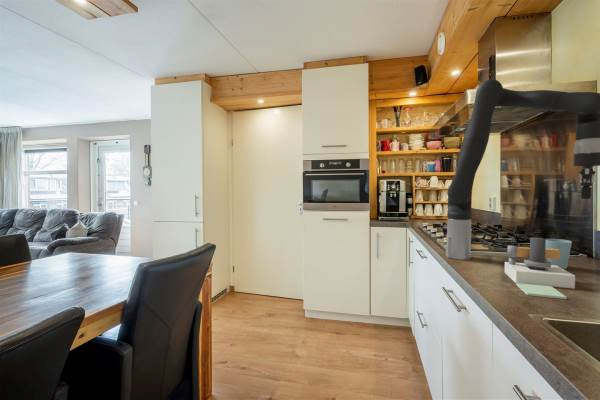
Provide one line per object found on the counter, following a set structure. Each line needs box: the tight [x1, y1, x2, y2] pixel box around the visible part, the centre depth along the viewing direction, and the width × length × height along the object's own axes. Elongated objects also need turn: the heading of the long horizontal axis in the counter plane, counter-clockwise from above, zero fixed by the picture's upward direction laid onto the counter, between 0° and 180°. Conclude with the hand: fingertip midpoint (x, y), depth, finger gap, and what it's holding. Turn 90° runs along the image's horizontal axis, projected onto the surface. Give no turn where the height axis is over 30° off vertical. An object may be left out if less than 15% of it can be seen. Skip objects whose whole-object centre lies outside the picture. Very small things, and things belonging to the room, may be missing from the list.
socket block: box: [504, 257, 576, 290], centre depth 96 cm, size 15×12×6 cm
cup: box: [545, 238, 573, 270], centre depth 110 cm, size 8×8×10 cm
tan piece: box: [506, 245, 560, 259], centre depth 99 cm, size 14×3×4 cm, turn 69°
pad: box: [515, 283, 568, 300], centre depth 86 cm, size 9×9×1 cm
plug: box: [523, 237, 551, 271], centre depth 96 cm, size 7×7×14 cm
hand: (586, 198), depth 102 cm, fingers open, 8 cm apart
